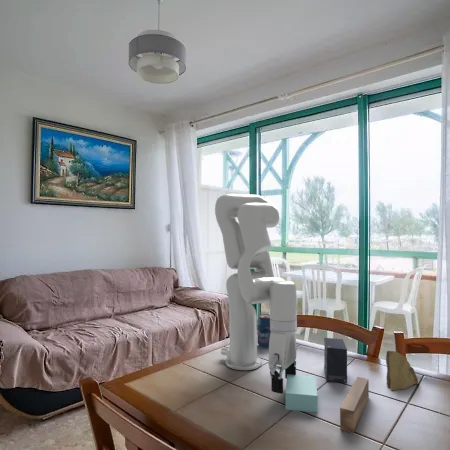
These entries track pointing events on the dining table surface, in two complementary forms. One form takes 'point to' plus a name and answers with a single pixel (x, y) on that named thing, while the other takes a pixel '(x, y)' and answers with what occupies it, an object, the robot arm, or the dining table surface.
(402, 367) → the rock
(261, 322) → the soda can
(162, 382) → the dining table surface
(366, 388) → the walnut board
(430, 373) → the dining table surface
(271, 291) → the robot arm
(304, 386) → the teal block
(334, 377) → the small box
